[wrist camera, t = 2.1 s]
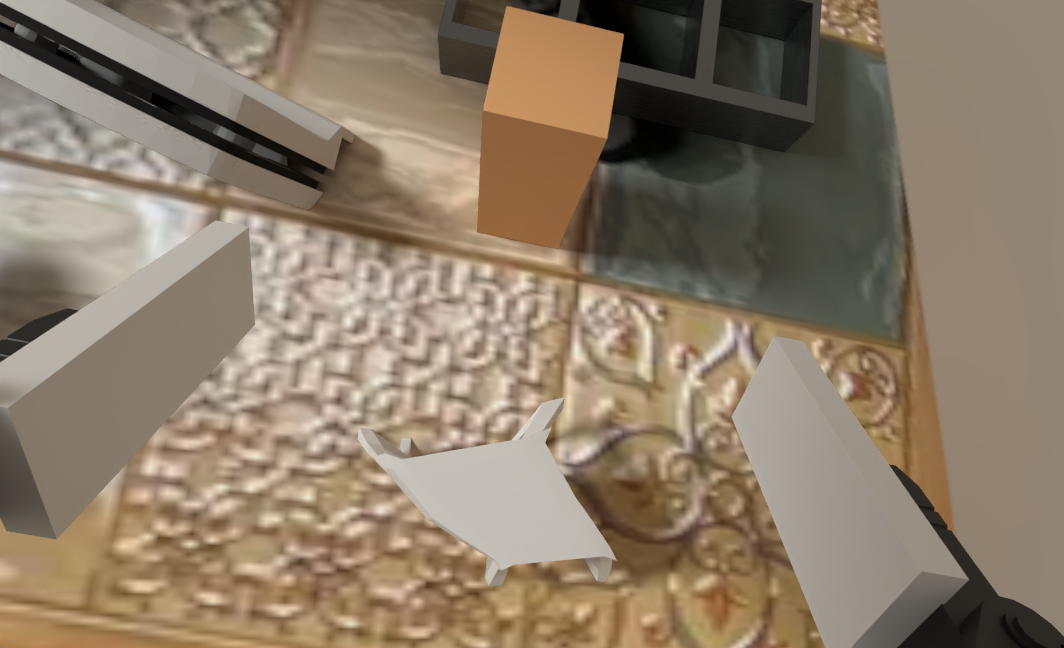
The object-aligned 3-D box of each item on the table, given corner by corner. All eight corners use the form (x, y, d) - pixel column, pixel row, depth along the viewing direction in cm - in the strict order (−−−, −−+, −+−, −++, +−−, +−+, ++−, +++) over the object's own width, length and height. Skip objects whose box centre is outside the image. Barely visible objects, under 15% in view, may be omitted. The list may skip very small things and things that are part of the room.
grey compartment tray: (440, 73, 32) (437, 34, 29) (471, -50, 34) (472, -97, 31) (784, 152, 33) (814, 123, 30) (793, 29, 35) (821, -9, 33)
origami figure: (611, 409, 29) (639, 401, 24) (596, 582, 27) (624, 611, 22) (378, 378, 28) (360, 362, 23) (344, 555, 26) (316, 579, 21)
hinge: (362, 138, 30) (267, 69, 20) (325, 216, 31) (216, 185, 21) (92, 1, 30) (-133, -135, 20) (60, 80, 31) (-177, -15, 21)
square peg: (557, 248, 30) (607, 138, 20) (477, 232, 30) (482, 110, 19) (570, 176, 31) (624, 34, 21) (492, 159, 31) (506, 5, 20)
